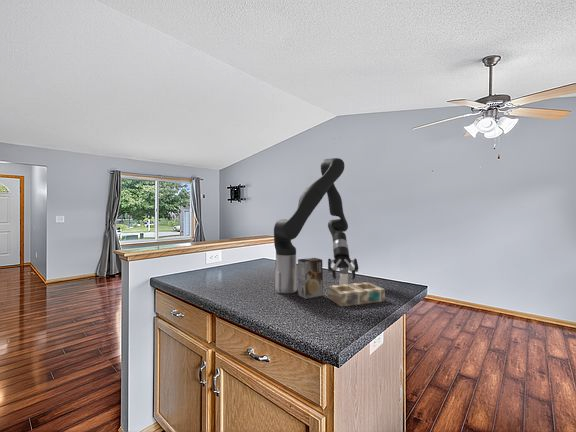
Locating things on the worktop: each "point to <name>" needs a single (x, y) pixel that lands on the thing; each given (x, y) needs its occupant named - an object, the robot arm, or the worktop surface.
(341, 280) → the plug
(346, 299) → the socket block
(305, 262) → the coffee box
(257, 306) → the worktop surface
